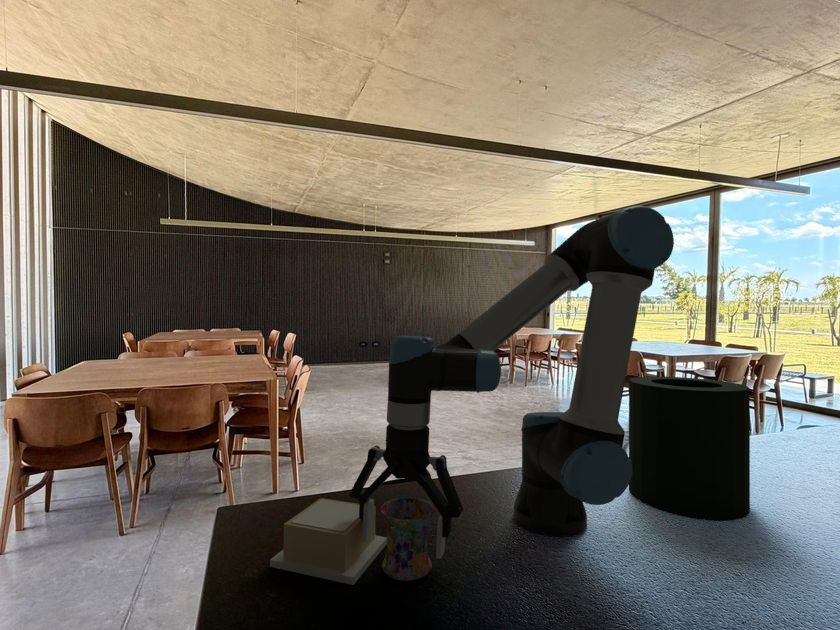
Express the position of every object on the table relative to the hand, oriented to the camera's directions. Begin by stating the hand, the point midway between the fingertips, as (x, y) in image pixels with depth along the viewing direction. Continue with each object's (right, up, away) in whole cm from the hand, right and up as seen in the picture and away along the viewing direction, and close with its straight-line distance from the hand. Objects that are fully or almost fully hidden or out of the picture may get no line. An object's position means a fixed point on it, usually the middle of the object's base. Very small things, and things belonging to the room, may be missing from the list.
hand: (402, 546), depth 77 cm
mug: (0, -4, 0) cm, 4 cm away
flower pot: (+68, -5, +31) cm, 75 cm away
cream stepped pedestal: (-13, -3, +4) cm, 14 cm away
